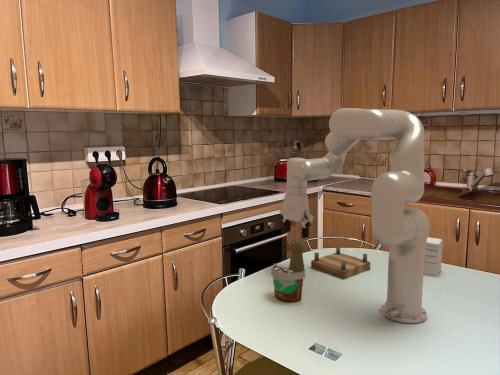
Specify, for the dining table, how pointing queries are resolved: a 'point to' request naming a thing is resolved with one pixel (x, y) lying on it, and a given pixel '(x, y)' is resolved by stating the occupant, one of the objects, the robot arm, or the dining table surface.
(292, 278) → the food container
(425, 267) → the supplement box
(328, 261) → the shelf board
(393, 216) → the robot arm
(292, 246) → the brown rounded piece
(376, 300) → the dining table surface
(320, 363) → the dining table surface
